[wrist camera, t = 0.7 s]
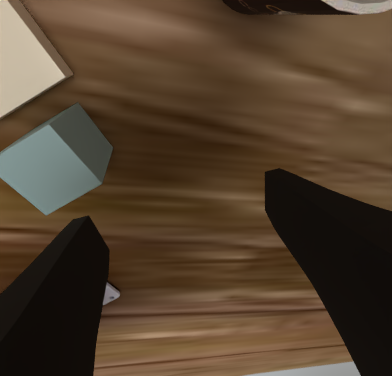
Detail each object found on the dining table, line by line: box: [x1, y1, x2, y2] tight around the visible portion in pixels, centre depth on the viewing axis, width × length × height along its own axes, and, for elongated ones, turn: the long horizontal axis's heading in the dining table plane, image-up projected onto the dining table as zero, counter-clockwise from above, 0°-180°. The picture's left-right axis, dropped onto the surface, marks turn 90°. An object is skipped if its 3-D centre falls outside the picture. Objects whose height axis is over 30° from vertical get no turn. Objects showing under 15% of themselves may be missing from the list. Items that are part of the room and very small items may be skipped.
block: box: [0, 102, 113, 215], centre depth 15 cm, size 4×4×6 cm
